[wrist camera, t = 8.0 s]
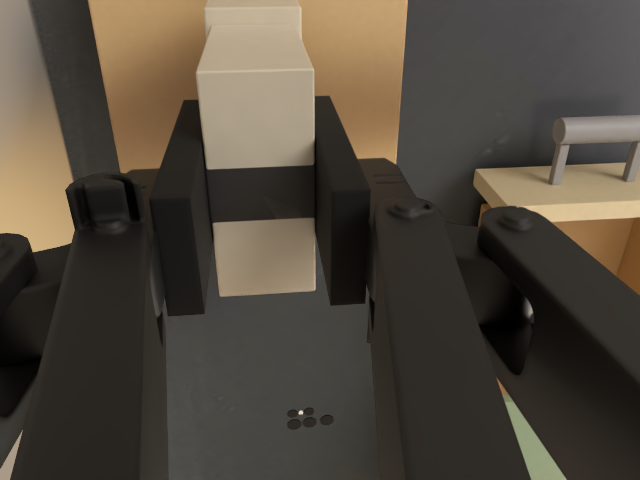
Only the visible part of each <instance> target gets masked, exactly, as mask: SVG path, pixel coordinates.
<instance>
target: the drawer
mask: <svg viewBox="0 0 640 480" xmlns="http://www.w3.org/2000/svg"><path fill="white" fill-rule="evenodd" d="M552 136H553V140H554V142H555V143H556V148H555V153H554V157H553V162H552V166H536V167H513V168H490V169H475V174H474V181H473V185H474V187H475V188H476V189H477V190H478V191H479V193H480V194H481V195H482V196H483V198H484V199H485V200H486V201H487V202H488V204H482V205H481V211H480V217H479V223H478V227H479V225H480V219H481V216H482V213H483V212H485V211H486V210H488V209H490V208H495V207H502V206H517V207H519V206H520V207H525V208H527V209H528V210H531V211H534V212H537V213H539V214H540V215H542V216H544V217H545V218H547V219H548V220H549V221H550V222H552V223H553V224H554V225H555V226H556V227H558V228H559V229H560V230H561V231H563V232H564V233H565V234H566V235H567V236H569V237H570V238H571V239H572V240H573V241H575V242H576V243H577V244H578V245H579V246H581V247H582V248H583V249H584V250H585V251H587V252H588V253H589V254H590V255H591V256H593V257H594V258H595V259H596V260H597V261H599V262H600V263H601V264H602V265H603V266H605V267H606V268H607V269H608V270H609V271H611V272H612V273H613V274H614V275H616V276H617V277H618V278H619V279H620V280H622V281H623V282H624V283H625V284H626V285H628V286H629V287H630V288H631V289H632V290H634V291H635V292H636V293H637V294H638V295H640V115H621V116H592V117H563V118H558V119H556V120H555V122H554V124H553V129H552ZM607 142H632V144H631V148H630V151H629V155H628V158H627V161H626V163H606V164H583V165H565V163H566V159H567V155H568V150H569V146H570V145H569V144H582V143H607ZM532 313H533V310H532ZM496 378H497V377H496ZM497 381H498V383H499V386H500V389H501V392H502V395H506V394H508V393H507V392H506V390H505V389H504V387H503V386H502V384H501V383H500V381H499V380H498V378H497Z"/></svg>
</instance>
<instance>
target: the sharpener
mask: <svg viewBox="0 0 640 480" xmlns="http://www.w3.org/2000/svg"><path fill="white" fill-rule="evenodd" d="M203 12H204V23H205V33H206V44H205V47H204V50H203V53H202V56H201V59H200V62H199V65H198V68H197V71H196V81H197V91H198V100H199V109H200V119H201V128H202V137H203V146H204V156H205V166H204V170H205V179H206V188H207V197H208V207H209V216H210V223H211V224H212V230H213V239H214V248H215V258H216V267H217V276H218V285H219V295H220V296H221V297H224V296H240V295H256V294H272V293H288V292H304V291H314V290H315V219H316V160H315V97H314V68H313V66H312V64H311V61H310V59H309V57H308V54H307V52H306V49H305V47H304V45H303V42H302V18H301V6H300V5H299V3H298V1H297V0H208V1H207V3H206V5H205V7H204V9H203Z"/></svg>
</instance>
